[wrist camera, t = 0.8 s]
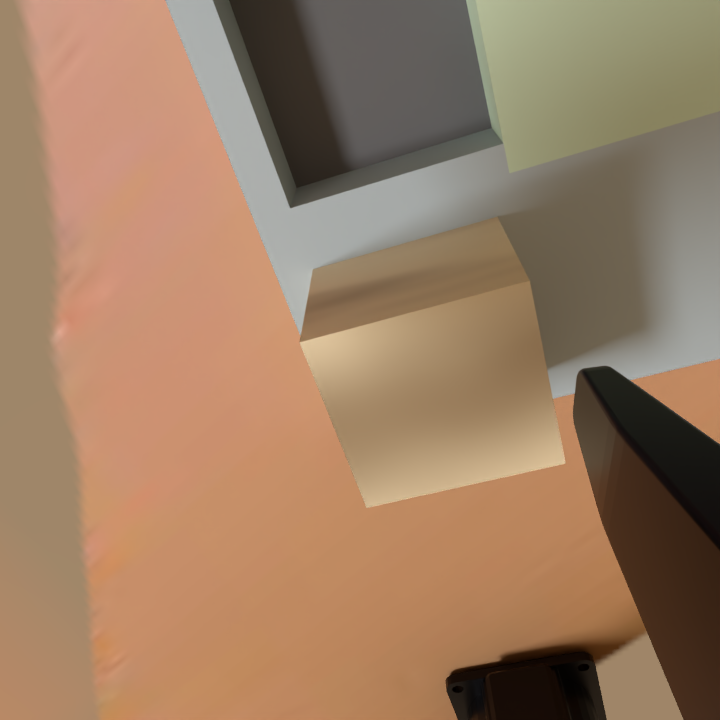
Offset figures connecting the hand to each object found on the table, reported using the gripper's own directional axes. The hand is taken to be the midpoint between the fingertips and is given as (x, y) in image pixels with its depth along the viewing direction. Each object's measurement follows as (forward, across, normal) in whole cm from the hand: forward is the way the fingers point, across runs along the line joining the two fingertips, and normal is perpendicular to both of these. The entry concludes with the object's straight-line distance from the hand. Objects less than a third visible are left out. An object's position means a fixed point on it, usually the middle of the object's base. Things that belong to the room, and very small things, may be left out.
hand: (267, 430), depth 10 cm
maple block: (+8, -3, +5) cm, 10 cm away
